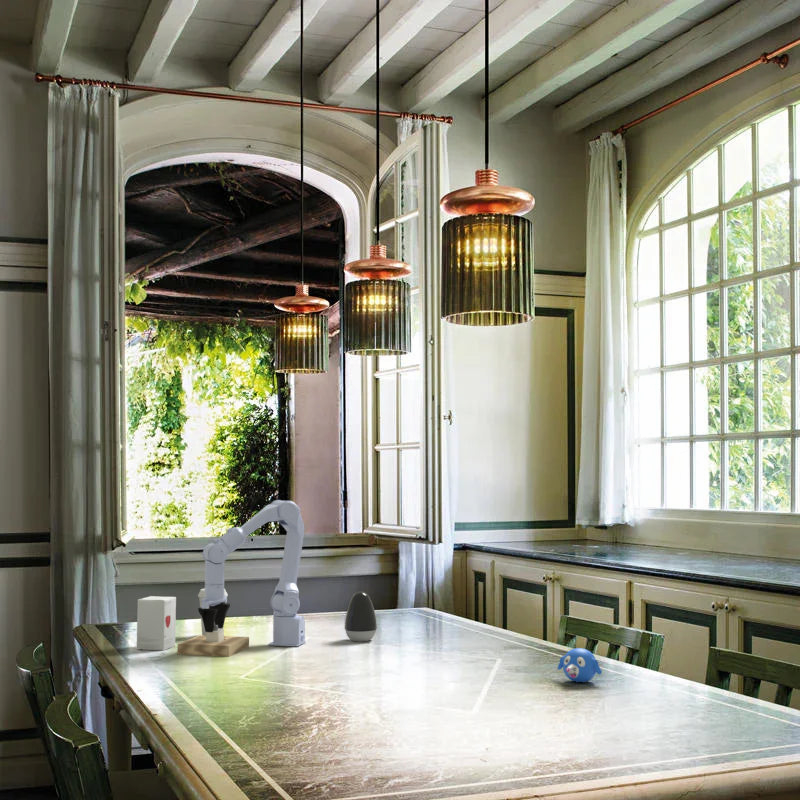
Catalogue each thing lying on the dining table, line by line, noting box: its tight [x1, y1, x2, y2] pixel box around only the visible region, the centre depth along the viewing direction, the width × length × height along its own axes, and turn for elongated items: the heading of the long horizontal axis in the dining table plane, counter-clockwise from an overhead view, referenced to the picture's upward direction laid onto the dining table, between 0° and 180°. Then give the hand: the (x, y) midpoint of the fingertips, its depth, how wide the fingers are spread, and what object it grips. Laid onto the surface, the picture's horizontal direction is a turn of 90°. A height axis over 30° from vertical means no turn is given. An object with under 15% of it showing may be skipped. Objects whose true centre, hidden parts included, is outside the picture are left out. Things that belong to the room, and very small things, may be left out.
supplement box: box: [136, 595, 177, 651], centre depth 314 cm, size 9×9×15 cm
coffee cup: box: [197, 588, 229, 636], centre depth 335 cm, size 10×10×15 cm
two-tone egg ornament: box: [344, 591, 378, 642], centre depth 327 cm, size 10×10×15 cm
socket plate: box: [176, 634, 250, 657], centre depth 308 cm, size 16×16×3 cm
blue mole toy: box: [557, 647, 603, 683], centre depth 260 cm, size 12×12×8 cm
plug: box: [206, 625, 225, 642], centre depth 308 cm, size 4×4×8 cm
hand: (214, 630), depth 308 cm, fingers open, 7 cm apart
